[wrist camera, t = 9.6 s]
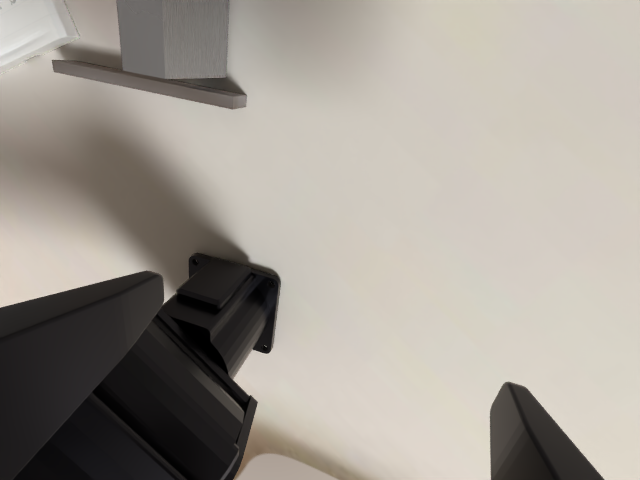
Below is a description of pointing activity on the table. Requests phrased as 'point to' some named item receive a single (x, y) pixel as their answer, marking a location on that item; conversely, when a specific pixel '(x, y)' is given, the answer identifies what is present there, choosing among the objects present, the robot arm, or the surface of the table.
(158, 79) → the base
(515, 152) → the table surface
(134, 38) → the clamp jaw
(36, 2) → the external hard drive
